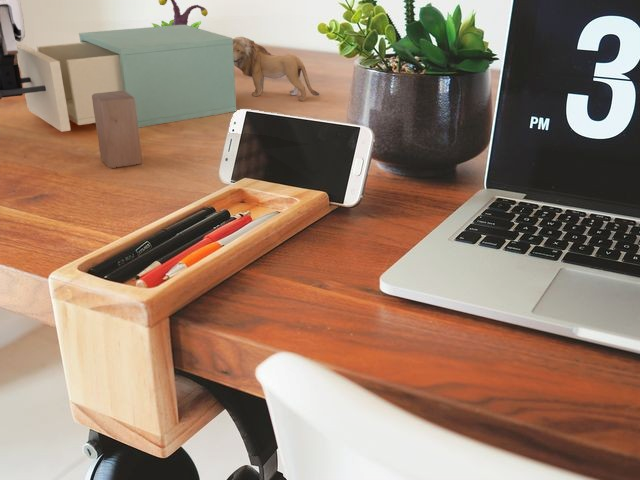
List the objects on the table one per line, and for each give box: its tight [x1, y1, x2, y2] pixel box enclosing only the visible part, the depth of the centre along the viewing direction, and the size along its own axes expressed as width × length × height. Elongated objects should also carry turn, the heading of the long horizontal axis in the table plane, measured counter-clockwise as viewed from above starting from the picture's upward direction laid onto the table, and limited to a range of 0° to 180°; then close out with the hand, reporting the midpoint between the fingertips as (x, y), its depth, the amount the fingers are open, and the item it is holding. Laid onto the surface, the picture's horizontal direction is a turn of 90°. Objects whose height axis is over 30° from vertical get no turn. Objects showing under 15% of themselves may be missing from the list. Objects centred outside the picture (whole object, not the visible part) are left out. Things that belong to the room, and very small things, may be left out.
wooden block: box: [92, 91, 143, 169], centre depth 84 cm, size 4×4×8 cm
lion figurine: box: [233, 36, 320, 102], centre depth 115 cm, size 15×5×9 cm, turn 82°
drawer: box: [0, 42, 124, 133], centre depth 98 cm, size 22×13×9 cm, turn 130°
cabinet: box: [78, 24, 237, 129], centre depth 106 cm, size 17×15×11 cm
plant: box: [151, 0, 208, 29], centre depth 144 cm, size 20×20×11 cm
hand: (8, 95), depth 94 cm, fingers closed
